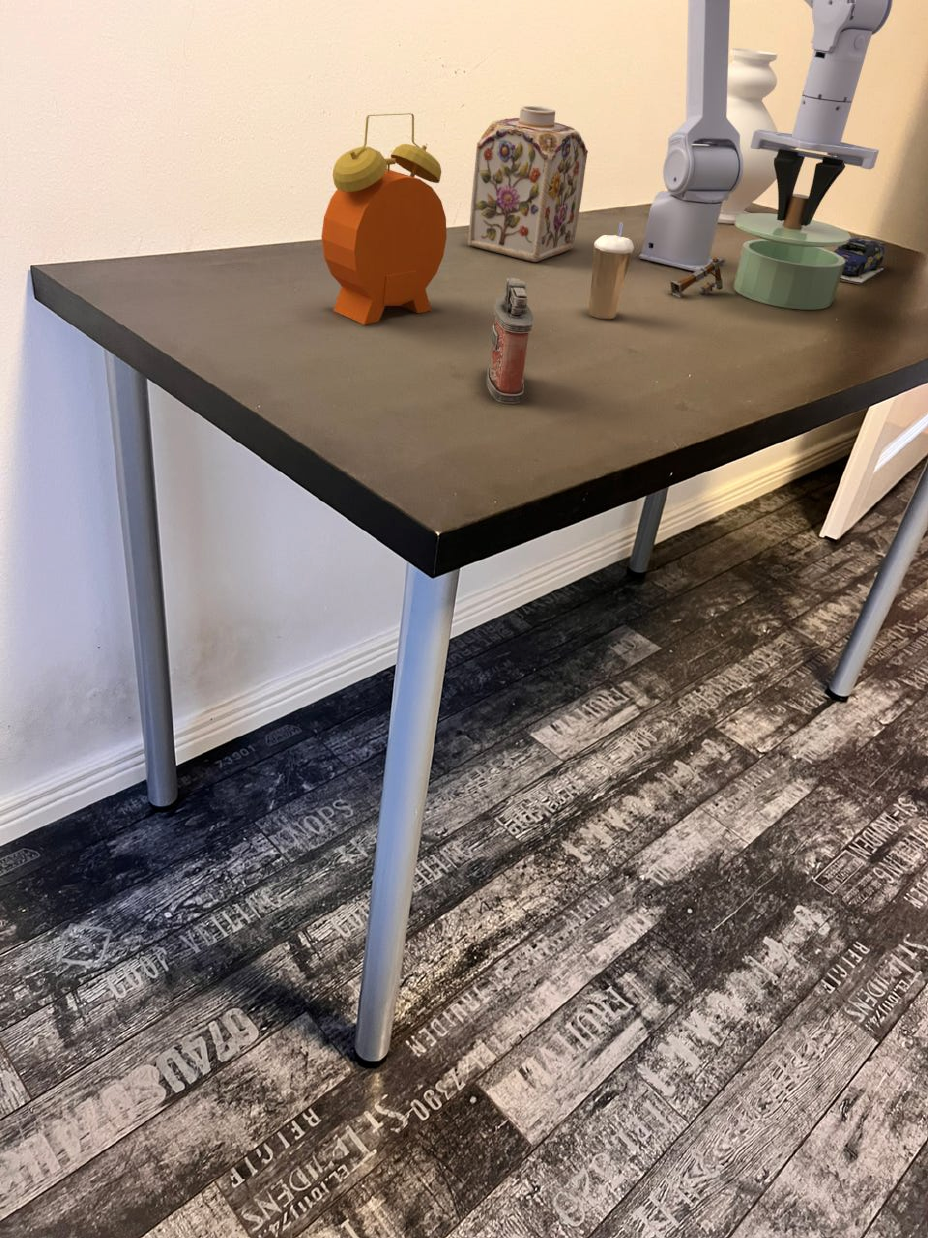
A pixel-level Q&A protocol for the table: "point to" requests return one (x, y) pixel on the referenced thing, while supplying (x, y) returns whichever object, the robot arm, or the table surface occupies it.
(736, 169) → the robot arm
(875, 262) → the race car
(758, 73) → the decorative vase
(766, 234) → the lid
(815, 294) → the canister
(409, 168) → the alarm clock
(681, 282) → the wooden post with brackets
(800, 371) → the table surface
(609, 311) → the milkshake
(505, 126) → the decorative jar
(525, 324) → the lighter
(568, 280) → the table surface
